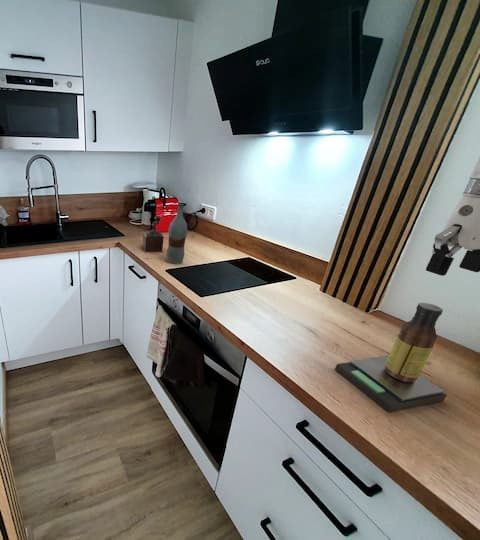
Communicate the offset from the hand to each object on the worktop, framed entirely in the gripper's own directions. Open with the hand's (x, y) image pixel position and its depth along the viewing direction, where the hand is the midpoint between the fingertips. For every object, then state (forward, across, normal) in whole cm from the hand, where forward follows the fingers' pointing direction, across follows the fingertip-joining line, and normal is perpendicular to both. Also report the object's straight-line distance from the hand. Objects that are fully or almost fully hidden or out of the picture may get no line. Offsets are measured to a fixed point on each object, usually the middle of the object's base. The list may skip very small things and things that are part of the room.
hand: (452, 271), depth 61 cm
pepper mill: (+31, -29, +114) cm, 121 cm away
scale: (+32, -2, 0) cm, 32 cm away
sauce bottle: (+29, 0, 0) cm, 29 cm away
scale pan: (+30, -1, 0) cm, 30 cm away
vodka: (+31, -24, +91) cm, 99 cm away
